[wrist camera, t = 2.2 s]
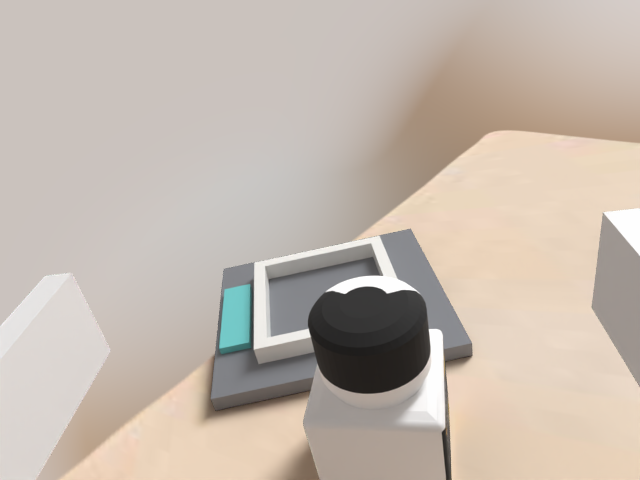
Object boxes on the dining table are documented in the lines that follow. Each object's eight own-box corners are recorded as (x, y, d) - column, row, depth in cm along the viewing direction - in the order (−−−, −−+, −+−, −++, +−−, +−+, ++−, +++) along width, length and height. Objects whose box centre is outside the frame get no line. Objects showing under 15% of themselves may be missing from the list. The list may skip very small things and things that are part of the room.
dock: (411, 238, 52) (409, 215, 51) (472, 355, 37) (471, 327, 36) (227, 278, 52) (219, 256, 51) (215, 410, 37) (204, 384, 36)
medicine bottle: (453, 514, 28) (438, 352, 22) (325, 506, 30) (278, 353, 24) (449, 408, 34) (436, 257, 28) (342, 406, 36) (309, 263, 30)
